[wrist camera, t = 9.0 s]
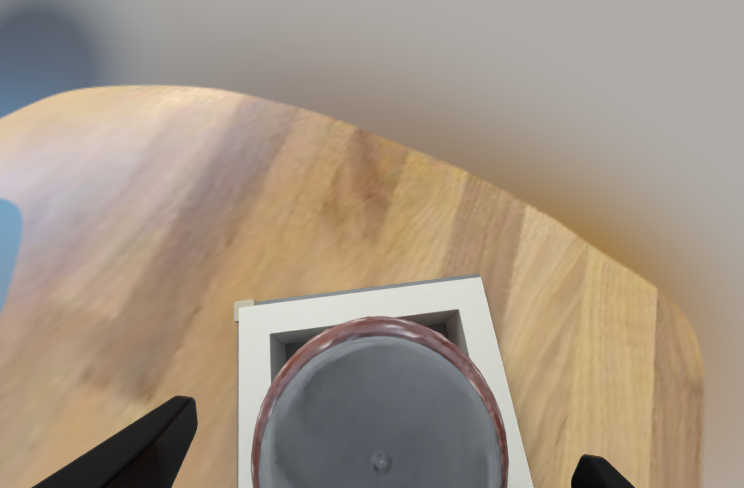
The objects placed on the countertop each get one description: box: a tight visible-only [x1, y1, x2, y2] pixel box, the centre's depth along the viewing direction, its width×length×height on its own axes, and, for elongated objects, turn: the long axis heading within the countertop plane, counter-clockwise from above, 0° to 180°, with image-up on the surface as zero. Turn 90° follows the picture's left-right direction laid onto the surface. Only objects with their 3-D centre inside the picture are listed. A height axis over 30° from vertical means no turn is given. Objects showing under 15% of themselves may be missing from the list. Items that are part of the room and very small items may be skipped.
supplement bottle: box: [251, 316, 509, 488], centre depth 11 cm, size 6×6×11 cm
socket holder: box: [234, 274, 534, 488], centre depth 16 cm, size 12×12×4 cm
